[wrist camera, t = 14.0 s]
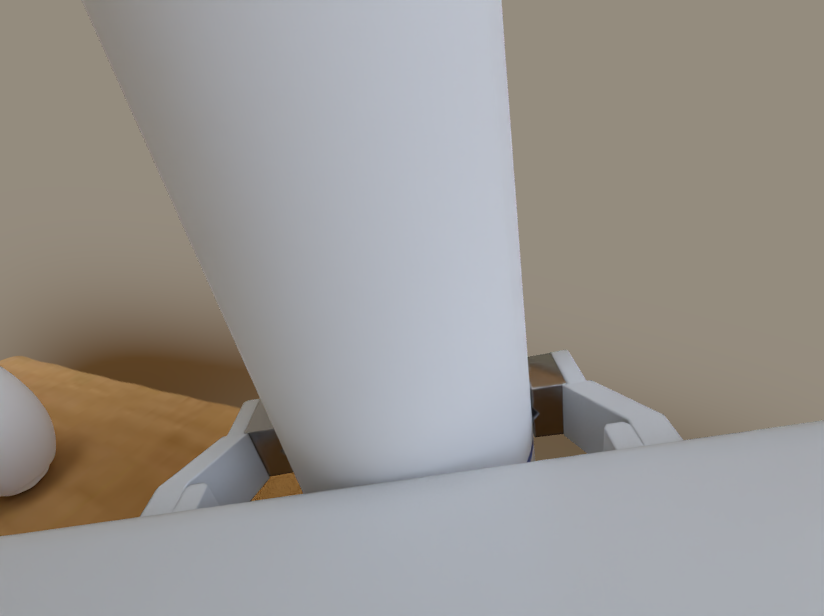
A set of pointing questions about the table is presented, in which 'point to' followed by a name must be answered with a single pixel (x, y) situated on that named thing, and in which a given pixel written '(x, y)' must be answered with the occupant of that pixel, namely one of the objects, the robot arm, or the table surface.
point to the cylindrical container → (347, 217)
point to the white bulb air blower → (22, 437)
